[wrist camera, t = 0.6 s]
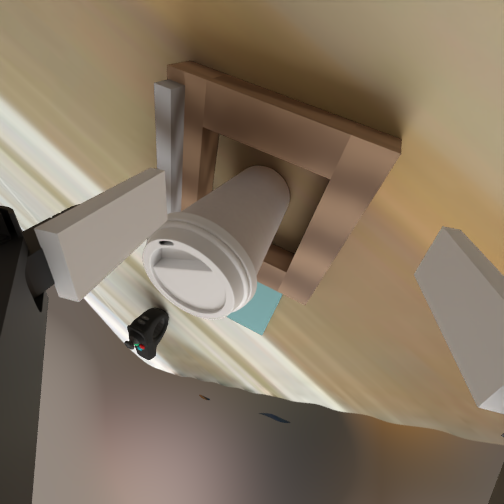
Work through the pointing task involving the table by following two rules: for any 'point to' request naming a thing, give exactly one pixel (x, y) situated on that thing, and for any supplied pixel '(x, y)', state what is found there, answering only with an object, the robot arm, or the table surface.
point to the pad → (257, 309)
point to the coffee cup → (218, 244)
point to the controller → (147, 332)
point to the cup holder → (278, 145)
